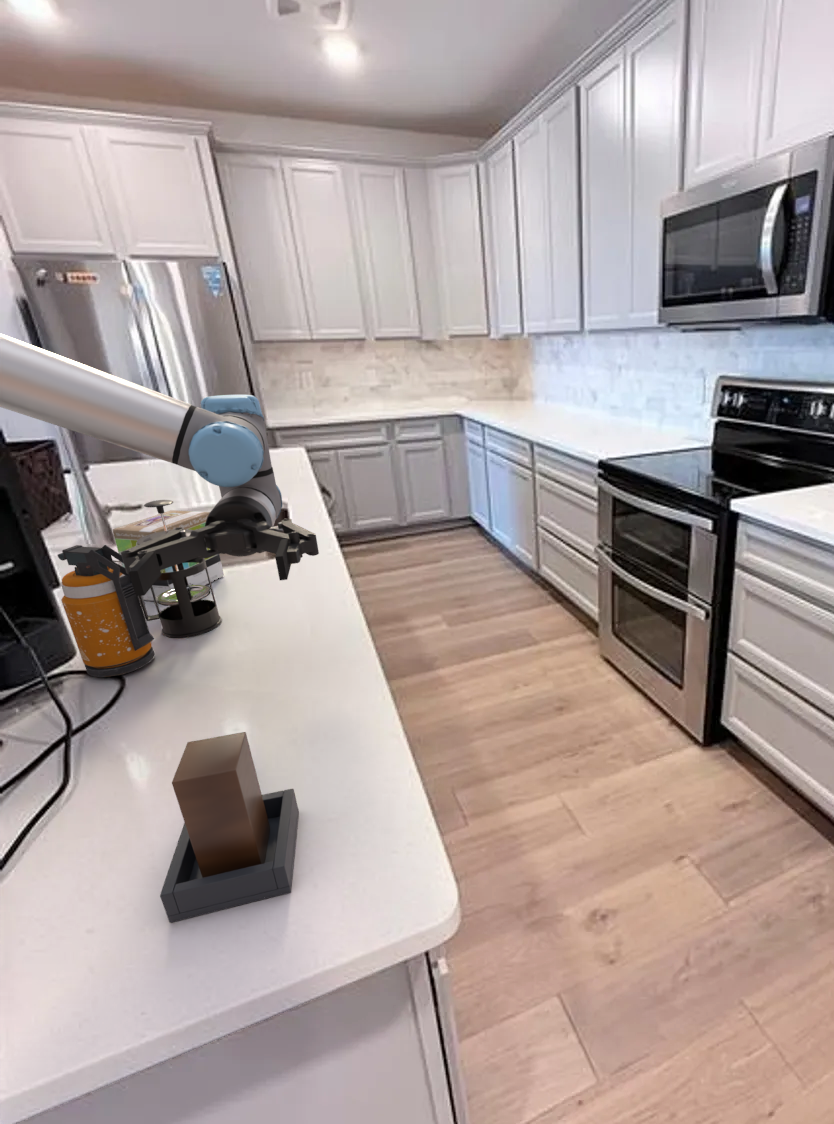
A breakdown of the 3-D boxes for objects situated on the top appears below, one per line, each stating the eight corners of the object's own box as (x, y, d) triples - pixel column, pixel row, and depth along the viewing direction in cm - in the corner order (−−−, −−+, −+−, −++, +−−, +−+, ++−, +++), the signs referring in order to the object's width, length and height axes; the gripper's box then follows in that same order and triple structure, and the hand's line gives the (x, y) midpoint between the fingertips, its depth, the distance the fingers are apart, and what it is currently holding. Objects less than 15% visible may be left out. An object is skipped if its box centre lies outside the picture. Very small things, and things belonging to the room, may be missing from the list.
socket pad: (169, 923, 54) (159, 895, 53) (196, 834, 64) (188, 809, 63) (291, 892, 57) (284, 865, 56) (299, 812, 67) (293, 787, 65)
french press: (223, 610, 117) (193, 491, 108) (228, 628, 109) (196, 502, 100) (151, 625, 111) (113, 500, 102) (150, 645, 104) (109, 513, 95)
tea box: (175, 603, 120) (154, 530, 115) (130, 600, 122) (108, 528, 116) (226, 575, 134) (210, 509, 128) (186, 573, 136) (168, 508, 130)
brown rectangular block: (204, 886, 57) (171, 782, 52) (217, 840, 62) (187, 741, 57) (263, 872, 58) (235, 769, 54) (270, 828, 63) (245, 731, 59)
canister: (123, 650, 102) (85, 535, 95) (180, 656, 100) (146, 539, 92) (73, 677, 94) (27, 554, 86) (134, 684, 92) (93, 558, 84)
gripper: (343, 539, 88) (341, 593, 69) (144, 558, 81) (82, 624, 62) (335, 487, 85) (331, 529, 66) (128, 503, 78) (58, 554, 59)
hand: (210, 575), depth 64 cm, fingers open, 13 cm apart
